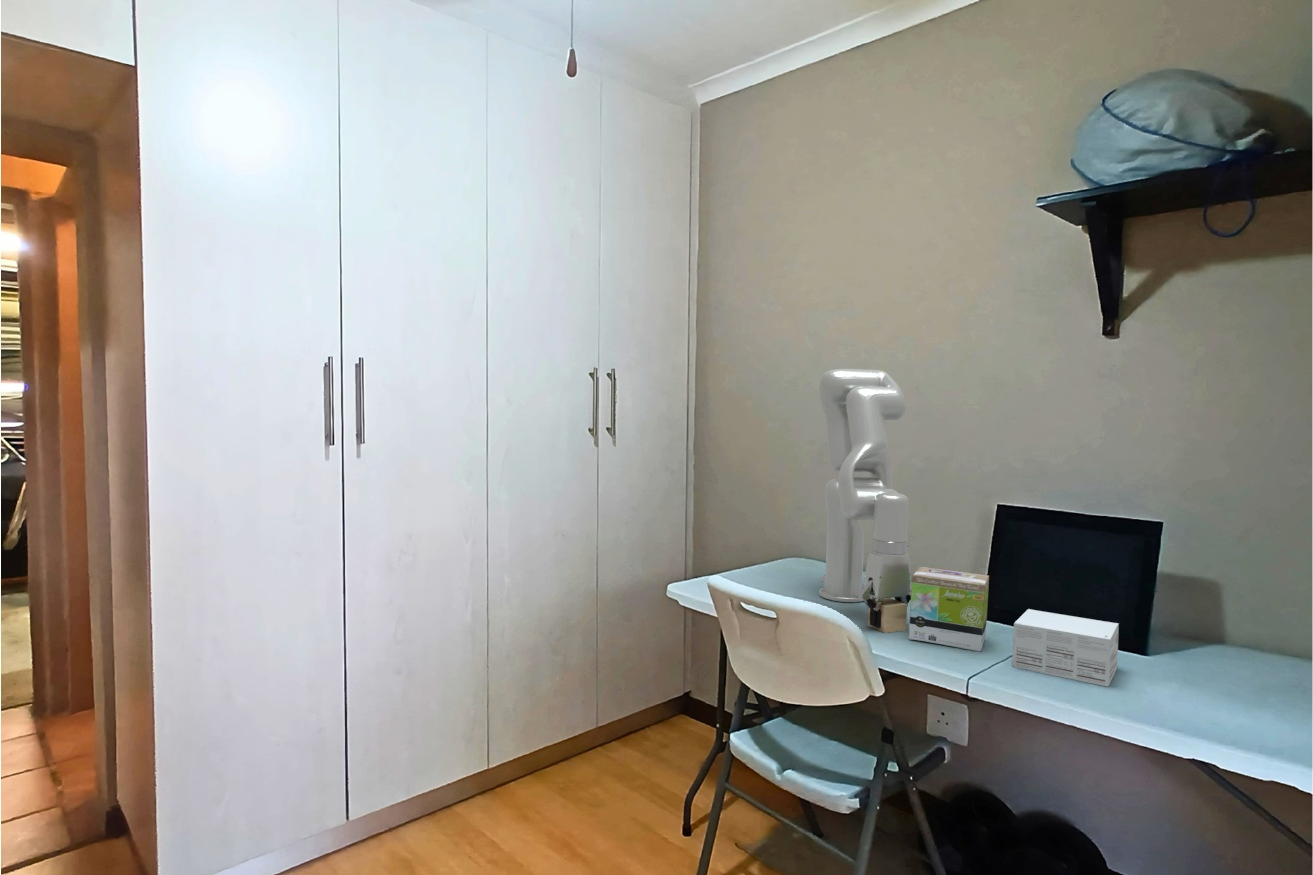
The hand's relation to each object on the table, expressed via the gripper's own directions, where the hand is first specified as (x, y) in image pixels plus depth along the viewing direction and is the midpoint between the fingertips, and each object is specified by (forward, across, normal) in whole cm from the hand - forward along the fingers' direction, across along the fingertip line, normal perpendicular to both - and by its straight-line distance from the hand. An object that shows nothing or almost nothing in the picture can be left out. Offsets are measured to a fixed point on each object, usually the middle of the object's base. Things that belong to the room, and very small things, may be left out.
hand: (887, 624), depth 176 cm
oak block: (+1, 0, 0) cm, 1 cm away
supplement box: (+1, -17, +33) cm, 37 cm away
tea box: (+1, -7, +12) cm, 14 cm away
